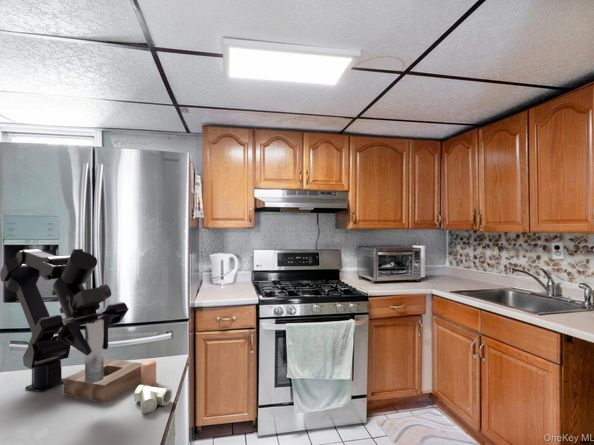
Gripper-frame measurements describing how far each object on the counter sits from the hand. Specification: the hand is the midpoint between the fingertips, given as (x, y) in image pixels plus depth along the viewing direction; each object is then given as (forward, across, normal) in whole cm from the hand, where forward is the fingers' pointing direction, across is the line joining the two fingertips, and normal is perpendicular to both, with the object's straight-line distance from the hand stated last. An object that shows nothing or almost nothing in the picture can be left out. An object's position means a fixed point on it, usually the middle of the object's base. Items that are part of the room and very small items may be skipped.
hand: (97, 351), depth 74 cm
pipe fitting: (+15, +7, +5) cm, 17 cm away
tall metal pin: (+4, 0, +6) cm, 7 cm away
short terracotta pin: (+8, +14, +11) cm, 20 cm away
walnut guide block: (+2, +8, +17) cm, 19 cm away
